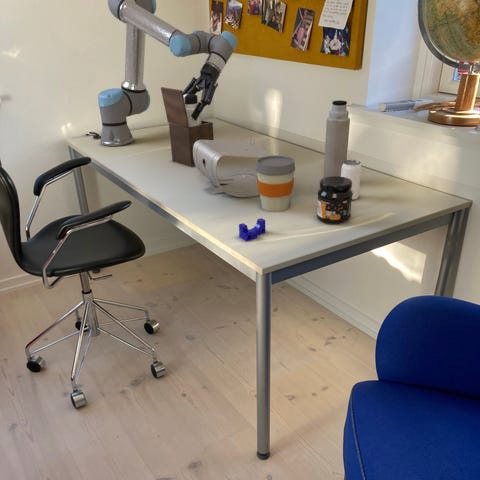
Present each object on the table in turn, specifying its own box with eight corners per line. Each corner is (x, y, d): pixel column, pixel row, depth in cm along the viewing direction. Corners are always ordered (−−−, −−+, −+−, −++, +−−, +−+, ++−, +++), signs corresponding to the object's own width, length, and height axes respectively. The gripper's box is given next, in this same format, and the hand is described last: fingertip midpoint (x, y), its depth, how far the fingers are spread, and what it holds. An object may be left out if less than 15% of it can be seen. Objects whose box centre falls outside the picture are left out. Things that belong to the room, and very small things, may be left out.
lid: (162, 87, 204) (160, 87, 204) (182, 90, 196) (180, 90, 196) (169, 122, 213) (167, 122, 212) (189, 126, 205) (187, 127, 204)
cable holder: (246, 241, 149) (245, 228, 147) (239, 237, 151) (238, 224, 149) (268, 234, 153) (268, 221, 150) (261, 230, 155) (261, 218, 153)
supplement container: (310, 221, 160) (312, 183, 153) (324, 210, 167) (326, 173, 161) (342, 227, 155) (346, 188, 149) (355, 216, 163) (359, 178, 156)
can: (354, 202, 173) (357, 166, 167) (336, 198, 176) (338, 163, 170) (361, 196, 178) (364, 161, 171) (343, 193, 181) (346, 158, 174)
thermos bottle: (325, 178, 196) (330, 98, 181) (346, 179, 193) (353, 99, 178) (321, 184, 189) (325, 102, 174) (342, 186, 187) (349, 103, 172)
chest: (195, 154, 228) (192, 118, 220) (214, 160, 220) (212, 122, 212) (172, 161, 221) (168, 123, 213) (191, 166, 213) (188, 127, 205)
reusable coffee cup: (266, 215, 165) (266, 168, 157) (250, 203, 175) (249, 158, 167) (300, 209, 169) (302, 163, 161) (283, 197, 179) (283, 153, 171)
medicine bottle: (201, 123, 216) (199, 92, 209) (199, 127, 210) (196, 95, 203) (185, 123, 217) (182, 93, 210) (181, 127, 211) (179, 96, 204)
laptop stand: (194, 182, 196) (191, 140, 187) (251, 173, 203) (250, 132, 195) (218, 203, 176) (216, 157, 168) (280, 192, 183) (281, 147, 175)
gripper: (236, 77, 206) (208, 126, 205) (200, 73, 220) (174, 118, 219) (225, 64, 200) (197, 114, 199) (189, 60, 214) (162, 107, 213)
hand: (185, 116), depth 209 cm, fingers closed on medicine bottle, 10 cm apart
